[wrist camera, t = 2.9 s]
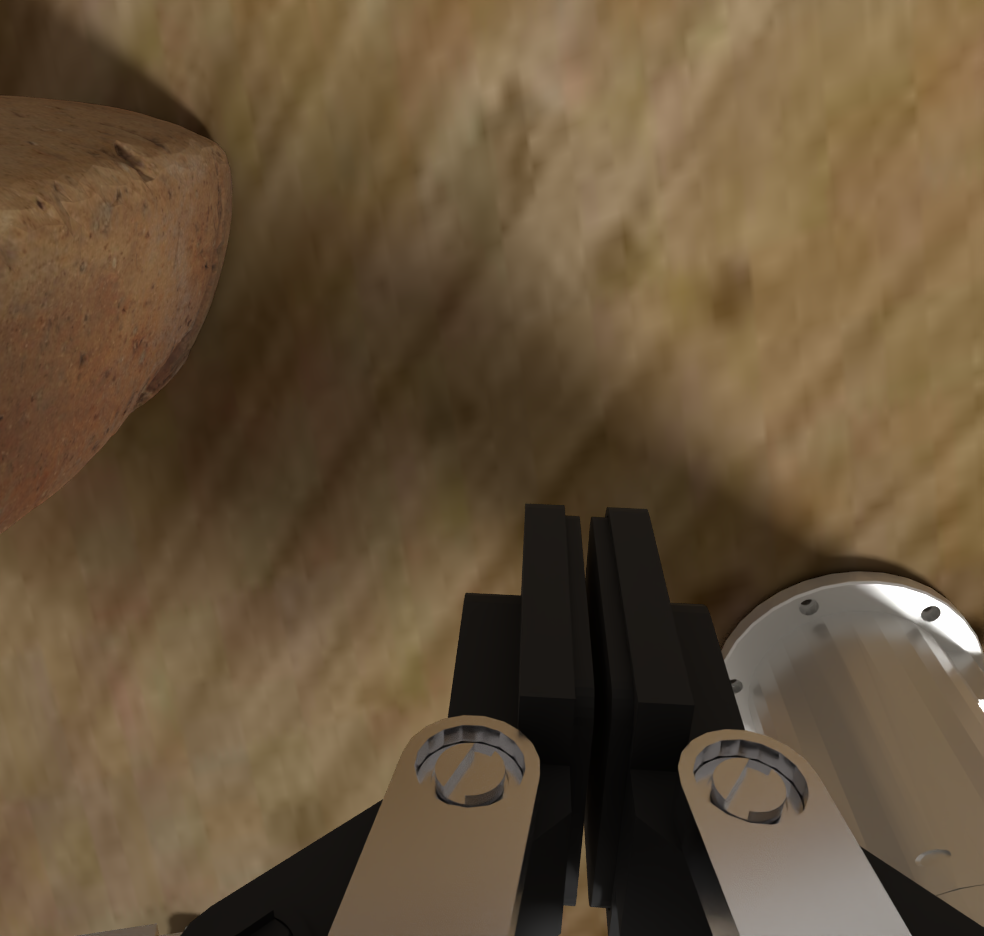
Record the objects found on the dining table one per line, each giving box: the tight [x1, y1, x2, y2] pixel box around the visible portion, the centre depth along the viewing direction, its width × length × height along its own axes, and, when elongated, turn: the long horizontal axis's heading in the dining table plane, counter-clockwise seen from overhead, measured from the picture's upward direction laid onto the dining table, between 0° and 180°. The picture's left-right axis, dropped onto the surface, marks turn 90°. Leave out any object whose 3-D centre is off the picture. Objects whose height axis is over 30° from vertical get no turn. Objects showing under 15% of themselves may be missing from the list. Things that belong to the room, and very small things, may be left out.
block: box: [0, 95, 233, 534], centre depth 26 cm, size 11×8×20 cm
